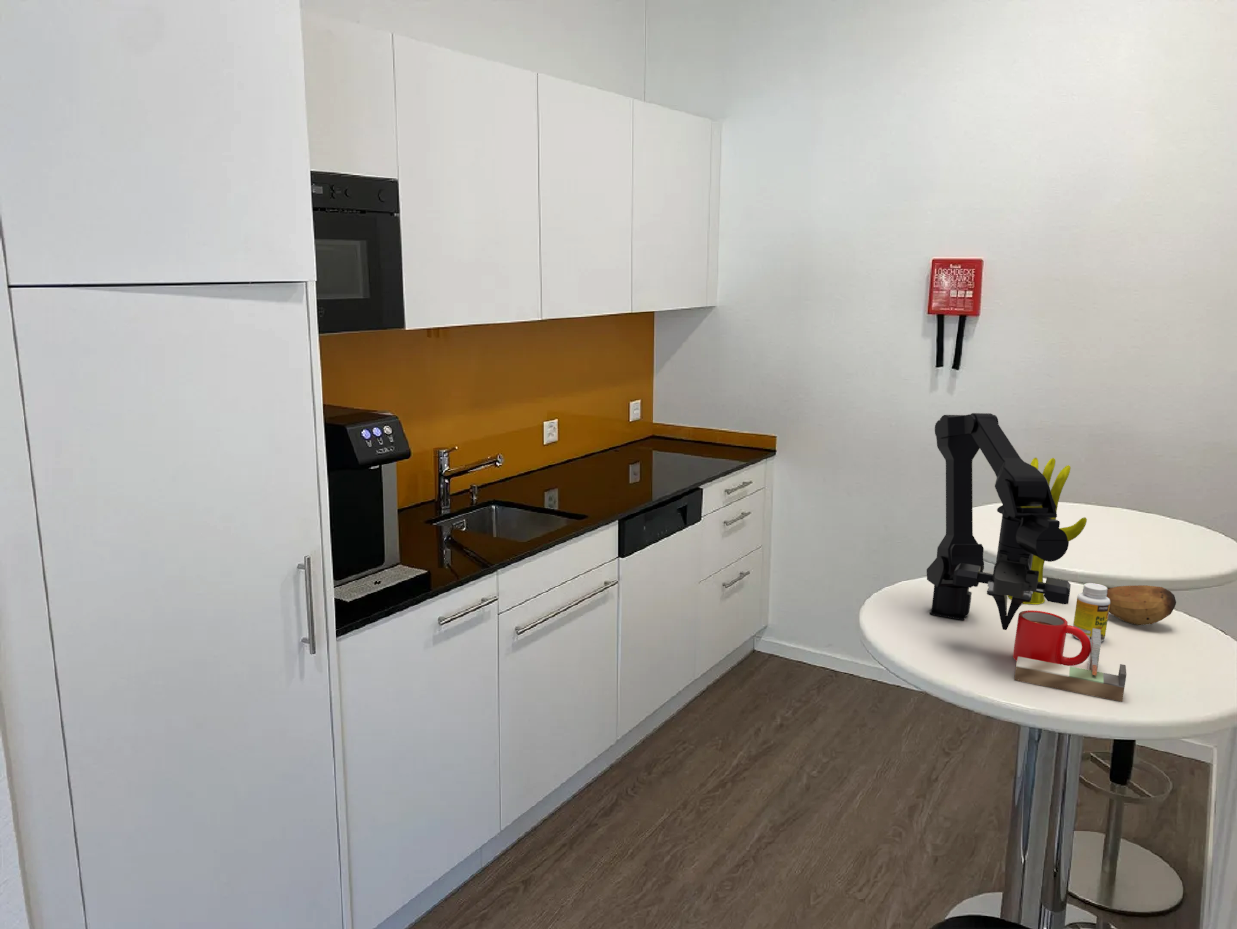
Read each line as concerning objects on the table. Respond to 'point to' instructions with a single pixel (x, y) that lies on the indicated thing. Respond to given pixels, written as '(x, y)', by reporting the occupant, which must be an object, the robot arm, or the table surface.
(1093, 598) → the supplement bottle
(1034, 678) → the gauge rail
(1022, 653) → the mug
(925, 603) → the table surface
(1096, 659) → the grey flat piece
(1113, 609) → the potato
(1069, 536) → the glove
